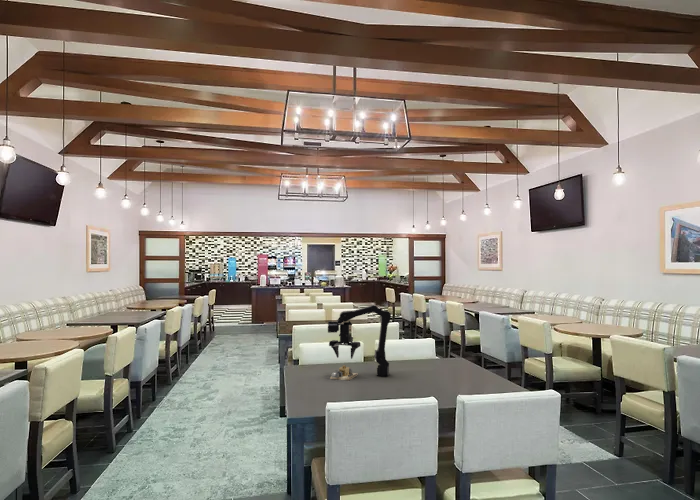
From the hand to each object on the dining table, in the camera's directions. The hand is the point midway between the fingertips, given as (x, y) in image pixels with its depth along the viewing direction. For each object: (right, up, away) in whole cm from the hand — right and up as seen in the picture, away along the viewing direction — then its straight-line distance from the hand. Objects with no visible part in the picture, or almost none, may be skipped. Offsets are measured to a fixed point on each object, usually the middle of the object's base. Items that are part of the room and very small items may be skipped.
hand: (344, 358), depth 260 cm
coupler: (0, -10, -1) cm, 10 cm away
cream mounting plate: (0, -11, -1) cm, 11 cm away
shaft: (-5, -10, -5) cm, 12 cm away
